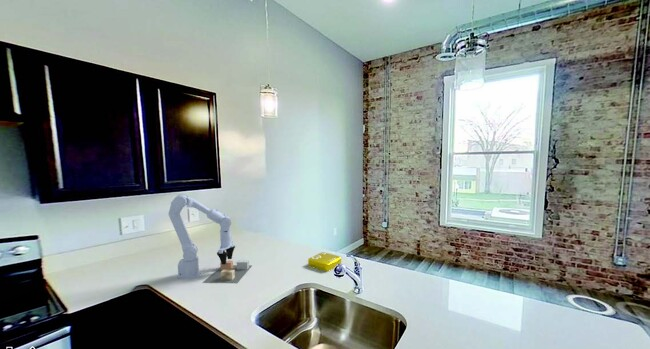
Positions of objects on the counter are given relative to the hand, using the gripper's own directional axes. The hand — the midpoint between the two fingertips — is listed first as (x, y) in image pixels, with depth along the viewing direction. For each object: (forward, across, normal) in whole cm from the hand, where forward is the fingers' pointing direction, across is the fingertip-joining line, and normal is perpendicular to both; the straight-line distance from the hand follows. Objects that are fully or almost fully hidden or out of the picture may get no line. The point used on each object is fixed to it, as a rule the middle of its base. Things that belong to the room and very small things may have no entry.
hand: (226, 261), depth 145 cm
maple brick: (+4, -12, -6) cm, 14 cm away
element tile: (+6, +9, -55) cm, 56 cm away
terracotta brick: (+4, 0, 0) cm, 4 cm away
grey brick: (+4, +1, -9) cm, 10 cm away
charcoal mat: (+5, -6, -4) cm, 9 cm away
